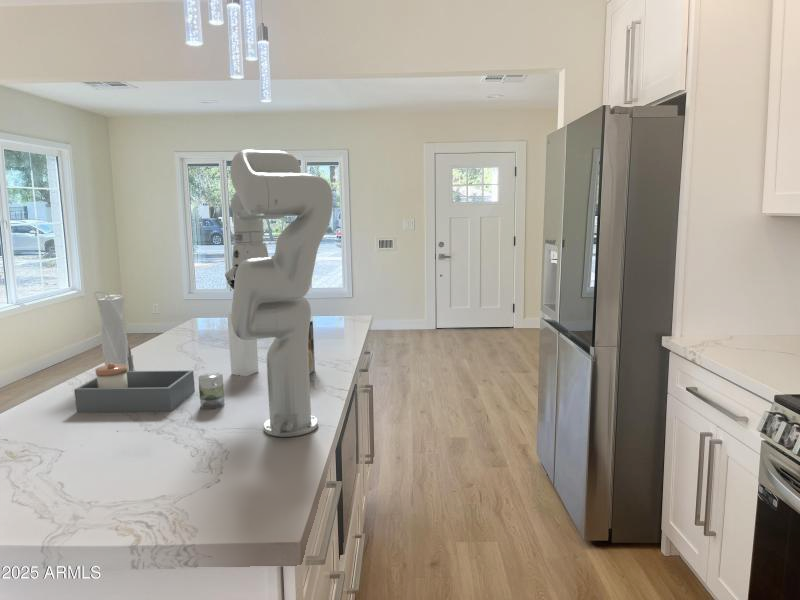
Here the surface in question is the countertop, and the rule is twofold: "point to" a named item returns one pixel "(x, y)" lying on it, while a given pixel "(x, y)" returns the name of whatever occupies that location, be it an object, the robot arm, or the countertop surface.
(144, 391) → the tote
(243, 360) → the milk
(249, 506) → the countertop surface
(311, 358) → the coffee box
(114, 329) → the skyscraper
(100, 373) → the lidded jar
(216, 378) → the grey green cylinder
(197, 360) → the countertop surface
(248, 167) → the robot arm
